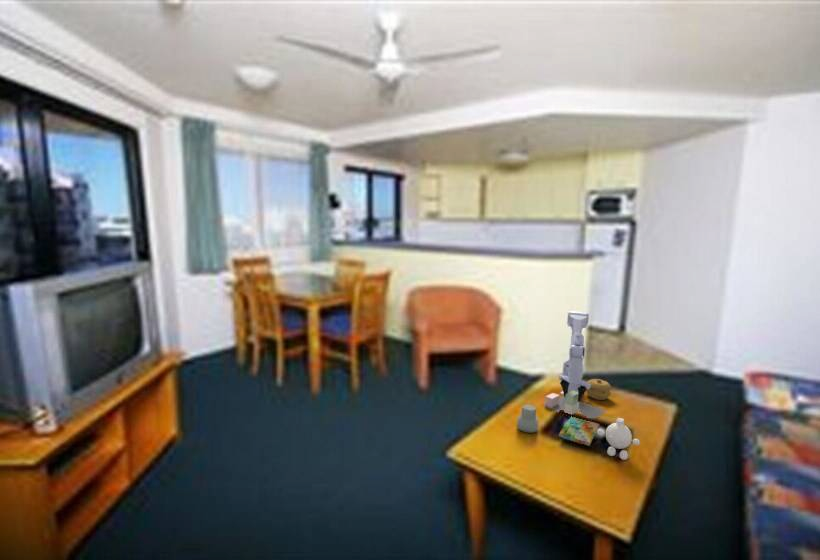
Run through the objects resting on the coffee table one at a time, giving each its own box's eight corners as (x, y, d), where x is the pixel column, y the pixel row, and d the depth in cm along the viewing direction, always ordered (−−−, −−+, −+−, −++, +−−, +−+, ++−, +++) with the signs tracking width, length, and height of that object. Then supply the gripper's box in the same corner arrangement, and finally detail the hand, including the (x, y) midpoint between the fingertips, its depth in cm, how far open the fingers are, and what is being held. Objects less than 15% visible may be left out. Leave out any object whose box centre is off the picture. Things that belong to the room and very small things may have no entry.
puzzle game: (599, 422, 183) (589, 440, 167) (598, 432, 184) (588, 452, 167) (571, 414, 190) (559, 431, 173) (570, 424, 190) (558, 442, 174)
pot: (602, 393, 226) (604, 375, 225) (614, 402, 215) (616, 383, 213) (581, 393, 226) (582, 375, 224) (591, 402, 214) (593, 383, 213)
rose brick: (552, 401, 212) (552, 392, 211) (558, 404, 210) (559, 395, 209) (544, 405, 207) (545, 396, 207) (551, 407, 205) (552, 398, 204)
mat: (563, 396, 220) (563, 395, 220) (606, 411, 204) (606, 410, 204) (542, 406, 207) (542, 406, 207) (587, 423, 191) (587, 423, 191)
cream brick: (571, 408, 205) (572, 399, 204) (578, 411, 202) (579, 402, 202) (564, 412, 200) (564, 403, 200) (571, 415, 198) (572, 405, 197)
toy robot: (593, 453, 166) (596, 417, 164) (597, 443, 174) (601, 408, 172) (636, 466, 158) (640, 428, 156) (638, 455, 166) (643, 419, 164)
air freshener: (536, 437, 177) (538, 414, 175) (516, 433, 180) (518, 410, 178) (538, 425, 187) (539, 404, 186) (518, 422, 190) (520, 400, 188)
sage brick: (572, 399, 204) (573, 390, 204) (579, 402, 202) (580, 392, 201) (564, 403, 200) (565, 393, 199) (572, 405, 197) (573, 396, 196)
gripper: (556, 368, 201) (553, 395, 203) (586, 377, 190) (583, 406, 192) (563, 365, 206) (561, 392, 208) (593, 373, 195) (590, 402, 197)
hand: (572, 398), depth 200 cm, fingers open, 6 cm apart
